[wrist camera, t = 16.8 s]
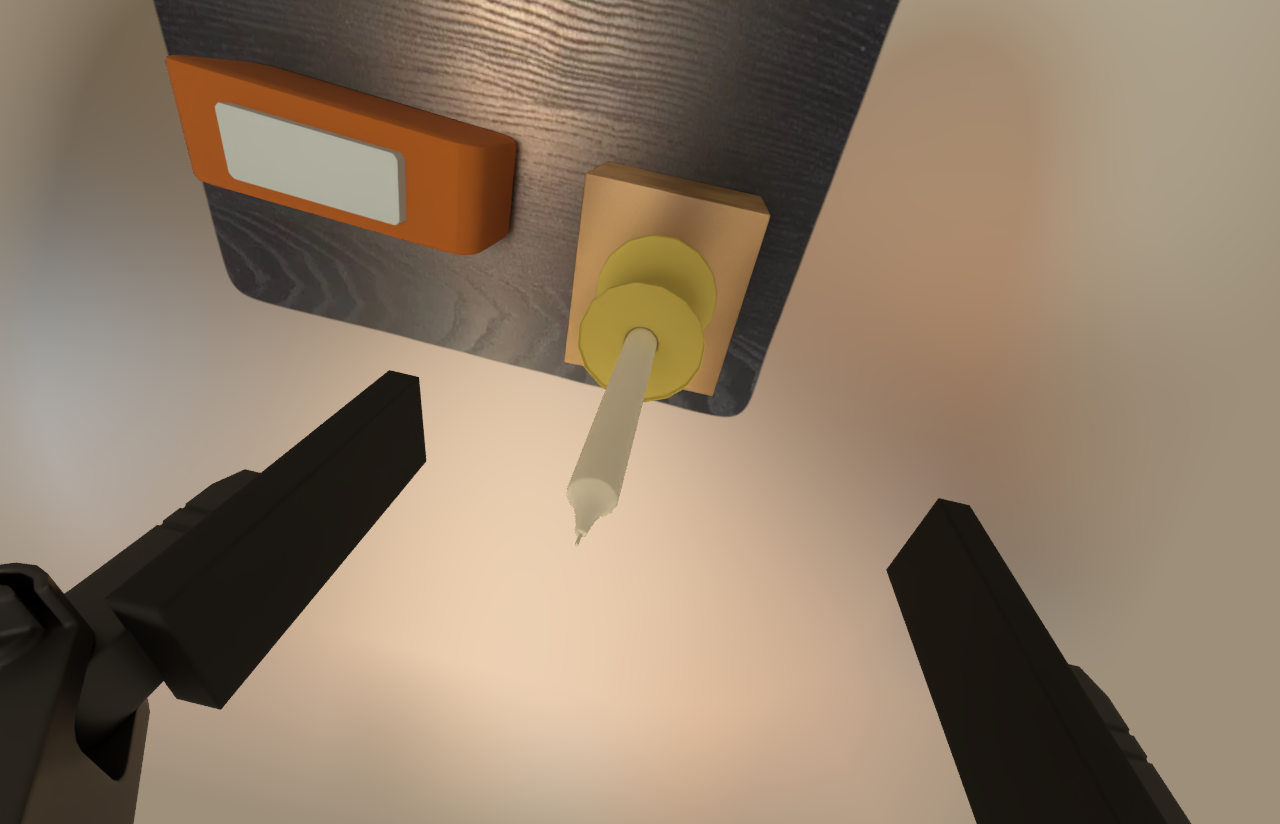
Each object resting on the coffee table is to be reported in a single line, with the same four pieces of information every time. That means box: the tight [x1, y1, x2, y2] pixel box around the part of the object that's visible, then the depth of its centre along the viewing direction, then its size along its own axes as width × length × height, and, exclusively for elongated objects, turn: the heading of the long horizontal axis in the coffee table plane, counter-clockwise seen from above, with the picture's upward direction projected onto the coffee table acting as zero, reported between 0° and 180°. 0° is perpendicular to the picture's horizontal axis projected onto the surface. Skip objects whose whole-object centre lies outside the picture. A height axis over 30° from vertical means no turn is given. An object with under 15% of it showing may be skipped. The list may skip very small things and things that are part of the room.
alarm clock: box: [166, 55, 516, 255], centre depth 40 cm, size 24×8×11 cm, turn 76°
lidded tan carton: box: [565, 162, 770, 396], centre depth 43 cm, size 14×16×9 cm
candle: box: [567, 234, 717, 546], centre depth 28 cm, size 10×10×27 cm
